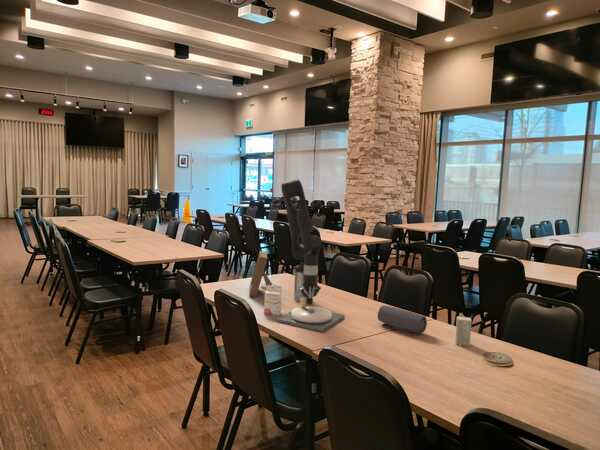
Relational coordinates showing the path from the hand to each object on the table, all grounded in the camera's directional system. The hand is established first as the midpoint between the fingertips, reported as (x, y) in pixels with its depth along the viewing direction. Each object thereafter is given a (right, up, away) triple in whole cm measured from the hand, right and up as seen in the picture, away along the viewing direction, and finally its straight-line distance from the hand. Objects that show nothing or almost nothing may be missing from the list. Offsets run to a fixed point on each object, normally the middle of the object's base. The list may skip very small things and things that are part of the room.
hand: (309, 304), depth 225 cm
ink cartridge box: (-20, -5, -1) cm, 20 cm away
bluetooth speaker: (+45, -9, -18) cm, 49 cm away
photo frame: (-30, 0, +38) cm, 48 cm away
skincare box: (+69, -12, -35) cm, 78 cm away
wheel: (+1, -4, -10) cm, 10 cm away
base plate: (+1, -6, -9) cm, 11 cm away
